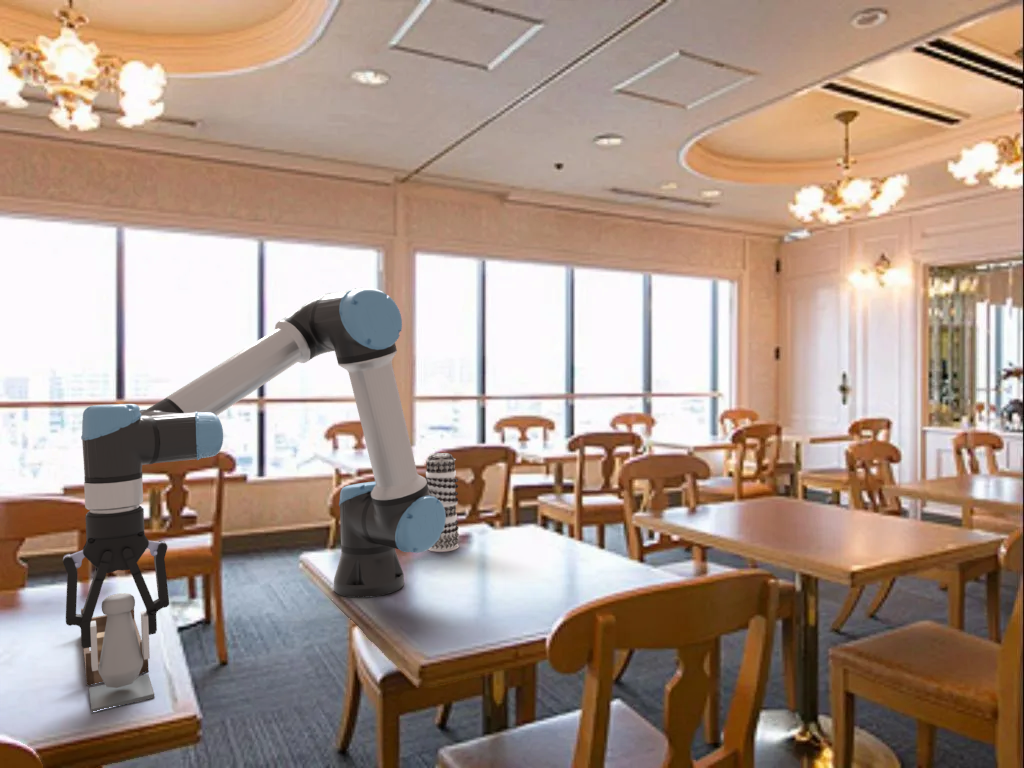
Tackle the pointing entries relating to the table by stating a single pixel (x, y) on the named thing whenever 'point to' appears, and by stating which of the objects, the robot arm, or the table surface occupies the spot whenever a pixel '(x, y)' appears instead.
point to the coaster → (121, 694)
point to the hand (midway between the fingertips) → (120, 661)
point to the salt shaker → (119, 643)
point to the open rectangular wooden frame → (94, 676)
